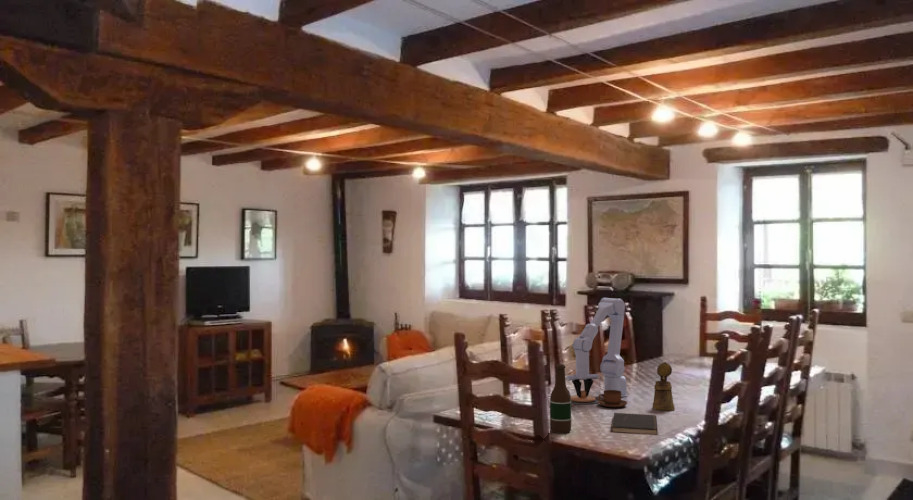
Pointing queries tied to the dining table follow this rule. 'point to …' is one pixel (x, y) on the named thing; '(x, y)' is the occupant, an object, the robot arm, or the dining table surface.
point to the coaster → (584, 402)
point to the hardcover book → (634, 423)
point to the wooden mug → (663, 389)
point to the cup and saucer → (611, 399)
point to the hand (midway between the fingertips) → (582, 396)
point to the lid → (583, 397)
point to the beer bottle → (560, 404)
